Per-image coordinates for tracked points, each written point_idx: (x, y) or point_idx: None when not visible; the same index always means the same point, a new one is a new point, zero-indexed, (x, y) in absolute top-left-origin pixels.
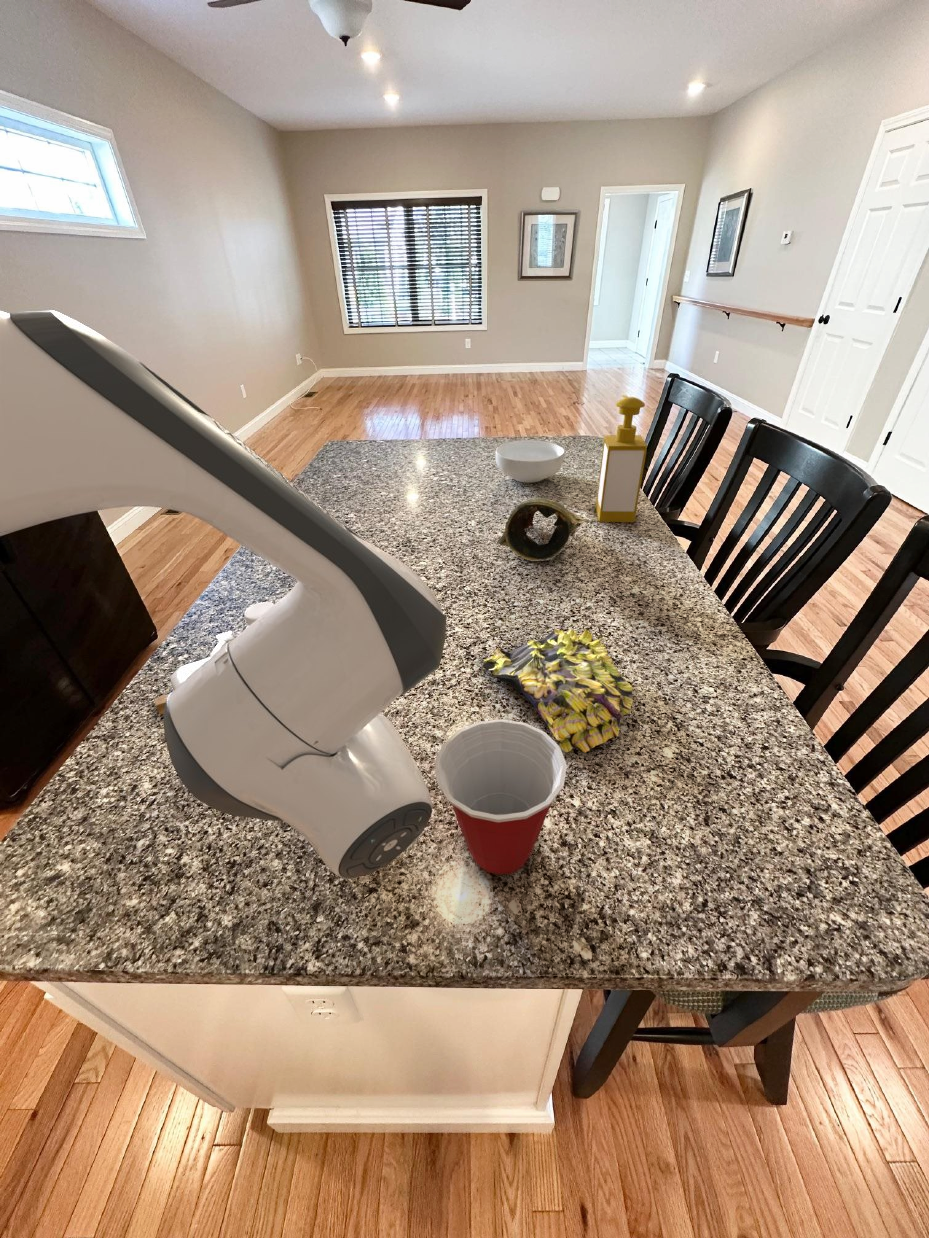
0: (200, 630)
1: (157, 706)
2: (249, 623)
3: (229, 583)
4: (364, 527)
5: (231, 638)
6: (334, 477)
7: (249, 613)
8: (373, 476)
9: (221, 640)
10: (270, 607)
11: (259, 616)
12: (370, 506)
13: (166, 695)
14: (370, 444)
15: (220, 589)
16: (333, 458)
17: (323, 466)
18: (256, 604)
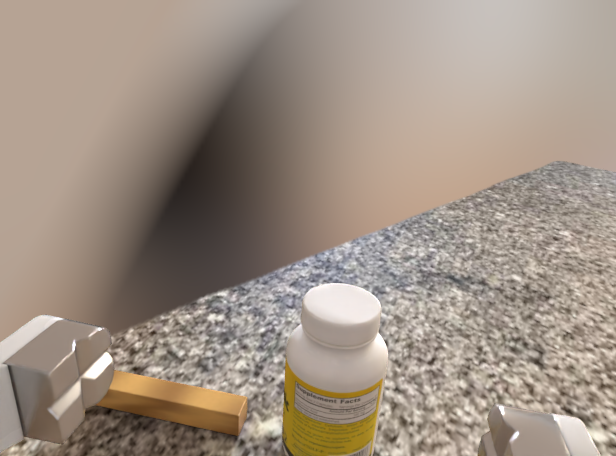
0: (270, 290)
1: None
2: (302, 320)
3: (352, 247)
4: (586, 255)
5: (40, 366)
6: (547, 187)
7: (315, 297)
8: (608, 201)
9: (7, 350)
10: (367, 307)
11: (329, 315)
12: (600, 232)
13: (116, 373)
14: (606, 172)
15: (336, 250)
16: (550, 171)
17: (535, 174)
18: (343, 285)
